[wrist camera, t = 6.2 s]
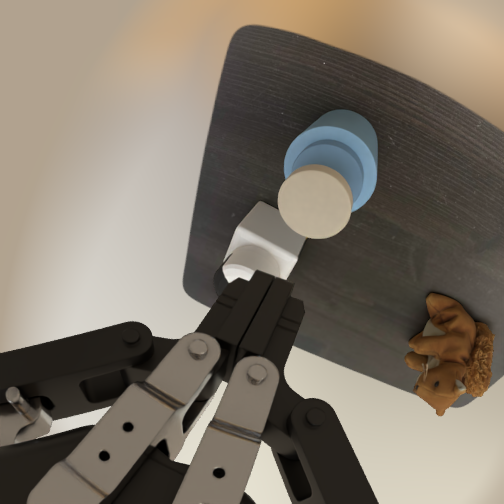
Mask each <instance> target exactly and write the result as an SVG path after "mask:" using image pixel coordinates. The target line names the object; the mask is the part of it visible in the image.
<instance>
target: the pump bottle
mask: <svg viewBox="0 0 504 504" xmlns="http://www.w3.org/2000/svg"><path fill="white" fill-rule="evenodd" d="M377 158H378V142H377V136H376V133H375V131H374V129H373V127H372V125H371V124H370V123H369V122H368V121H367V120H366V119H365V118H364V117H363V116H361V115H360V114H358V113H356V112H353V111H350V110H344V109H340V110H333V111H330V112H328V113H326V114H324V115H322V116H321V117H320V118H319V119H318V120H316V121H315V122H314V123H313V124H312V125H311V126H309V127H308V128H307V129H306V130H305V131H304V132H303V133H301V134H300V135H299V136H298V137H297V138H296V139H295V140H294V141H293V142H292V143H291V145H290V147H289V148H288V151H287V153H286V156H285V161H284V174H285V179H287V178H288V177H289V175H290V174H291V173H292V172H294V171H295V170H296V169H298V168H300V167H302V166H305V165H311V164H318V165H324V166H327V167H330V168H332V169H334V170H336V171H337V172H338V173H340V174H341V175H342V176H343V177H344V178H345V180H346V181H347V183H348V184H349V186H350V188H351V191H352V196H353V206H352V211H351V212H353V211H355V210H357V209H358V208H360V207H361V206H363V205H364V204H365V203H366V202H367V201H368V199H369V198H370V197H371V195H372V193H373V191H374V189H375V185H376V181H377Z"/></svg>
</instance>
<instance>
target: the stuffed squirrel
mask: <svg viewBox="0 0 504 504" xmlns="http://www.w3.org/2000/svg"><path fill="white" fill-rule="evenodd" d="M426 304H427V308H428V312H429V314H430V317H431V318H430V319H429V320H428V322H427V324H426V326H425V328H424V331H422V332H421V333H419V334H418V335H416V336H415V337H413V338H412V339H410V340H409V346H410V348H413V349H414V351H415V352H413V351H411V352H409V353H407V355H406V356H405V362H406V364H407V365H408V366H409V367H410V368H412V369H415V370H417V371H420V372H422V373H421V374H420V375H419V376H418V378H417V381H416V384H415V386H414V390H413V391H414V393H416V394H417V395H418V396H419V397H420V398H422V399H423V400H424V401H426V402H427V403H428V404H429V405H430V406H432V407H433V408H434V409H436V414H437V415H438V416H442V415H443V414H444V413H445V410H446V409H447V408H449V407H450V406H451V405H452V404H453V403H454V402H455V401H456V400H457V399H458V397H459V396H460V394H463V393H465V392H466V393H467V394H468V393H470V394H472V396H473V397H477V396H478V397H481V396H482V395H483V393H484V392H485V391H487V389H488V385H490V383H489V382H490V378H491V377H492V372H491V368H490V367H491V363H492V357H493V355H492V354H493V353H492V351H493V352H494V350H493V345H492V344H493V340H494V337H495V335H494V334H492V332H491V331H490V330H489V328H488V327H487V325H486V324H484V323H482V322H474V321H473V319H472V318H471V317H470V315H469V314H468V313H467V312H466V311H465V310H464V309H463V307H462V305H461V304H460V303H459V302H457V301H455V300H453V299H451V298H449V297H446V296H443V295H440V294H435V293H430V294H429V295H428V297H427V298H426Z"/></svg>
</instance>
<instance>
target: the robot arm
mask: <svg viewBox="0 0 504 504" xmlns="http://www.w3.org/2000/svg"><path fill="white" fill-rule="evenodd" d="M294 284H295V283H293V282H290V281H288V280H285V279H282V278H279V277H276V278H275V276H274V275H271V274H268V273H266V272H263V271H260V270H256V271H255V272H254V274H253V275H252V277H251V279H250V280H249V281H248V280H245V279H242V278H240V277H238V278H237V279H235V280H233V281H232V282H230V283H228V284H227V286H226V287H225V289H224V290H223V292H222V293H221V295H220V296H219V297H218V299H217V300H216V303H214V305H213V306H212V308H211V309H210V311H209V312H208V313H207V315H206V316H205V318H204V319H203V321H202V322H201V324H200V325H199V327H198V328H197V329H196V331H195V332H194V333H189V334H187V335H185V336H183V337H182V338H181V339H167V338H161V337H155V336H152V333H151V331H150V329H149V328H148V327H147V326H146V325H144V324H142V323H140V322H134V321H132V322H131V321H130V322H125V323H121V324H117V325H113V326H109V327H106V328H102V329H98V330H94V331H90V332H86V333H83V334H79V335H74V336H71V337H66V338H63V339H58V340H54V341H50V342H46V343H42V344H38V345H34V346H30V347H25V348H21V349H17V350H13V351H8V352H4V353H0V504H256V503H255V502H254V501H253V500H252V498H251V497H250V496H249V495H247V494H246V493H245V492H244V490H245V487H246V485H247V482H248V479H249V476H250V474H251V471H252V468H253V465H254V462H255V459H256V456H257V453H258V451H259V447H260V444H261V440H262V441H264V442H265V443H266V444H267V445H269V446H270V447H271V449H272V453H273V456H274V458H275V461H276V464H277V466H278V469H279V471H280V474H281V476H282V479H283V482H284V484H285V487H286V489H287V492H288V495H289V497H290V500H291V502H292V504H379V503H378V501H377V499H376V497H375V495H374V493H373V491H372V488H371V486H370V484H369V482H368V480H367V478H366V476H365V474H364V471H363V469H362V467H361V465H360V463H359V461H358V459H357V457H356V455H355V453H354V450H353V448H352V446H351V444H350V442H349V440H348V438H347V436H346V434H345V432H344V430H343V427H342V425H341V423H340V421H339V419H338V417H337V415H336V413H335V411H334V409H333V408H332V407H331V406H330V405H329V404H328V403H327V402H325V401H323V400H320V399H316V398H309V399H304V398H303V397H301V396H300V395H299V394H297V393H296V392H295V391H293V390H292V389H291V388H290V387H289V385H288V384H287V382H286V380H285V377H284V367H285V364H286V361H287V359H288V356H289V353H290V351H291V348H292V346H293V343H294V340H295V338H296V335H297V332H298V330H299V327H300V324H301V322H302V319H303V316H304V313H305V311H304V305H303V301H302V300H299V299H296V298H293V297H291V293H292V290H293V287H294ZM222 381H225V382H227V383H228V385H227V387H226V389H225V392H224V394H223V397H222V399H221V401H220V404H219V406H218V408H217V411H216V413H215V415H214V417H213V419H212V421H210V423H209V424H208V426H207V428H206V430H205V433H204V435H203V437H202V440H201V442H200V444H199V446H198V448H197V451H196V453H195V455H194V457H193V460H192V462H191V464H190V465H187V464H183V463H179V462H175V461H174V459H175V458H176V457H177V455H178V454H179V452H180V450H181V449H182V447H183V444H184V442H185V439H186V438H187V436H188V434H189V432H190V431H191V430H192V428H193V427H194V426H195V424H196V422H197V421H198V420H199V418H200V417H201V415H202V414H203V412H204V411H205V409H206V408H207V407H208V405H209V404H210V402H211V400H212V399H213V397H214V395H215V393H216V391H217V389H218V387H219V385H220V384H221V382H222ZM109 406H111V408H110V409H109V410H108V411H107V412H106V413H105V415H104V416H103V417H102V418H101V419H100V420H99V422H98V423H97V424H96V425H88V426H83V427H79V428H76V429H72V430H69V431H65V432H61V433H57V434H54V435H50V436H46V437H42V438H38V439H36V438H37V437H40V436H43V435H45V434H48V433H49V431H50V428H51V425H52V421H54V420H58V419H62V418H67V417H71V416H74V415H79V414H83V413H87V412H91V411H94V410H98V409H102V408H106V407H109Z"/></svg>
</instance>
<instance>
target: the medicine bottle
mask: <svg viewBox="0 0 504 504" xmlns="http://www.w3.org/2000/svg"><path fill="white" fill-rule="evenodd" d="M307 238H308V237H305V236H302V235H300V234H298V233H296V232H295V231H294V230H292V229H291V228H290V227H289V226H288V225H287V224H286V223H285V221H284V220H283V218H282V216H281V214H280V211H279V210H278V209H276V208H274V207H272V206H270V205H268V204H266V203H264V202H262V201H259V202H258V203H257V204H256V205H255V206H254V208H253V209H252V210H251V211H250V212H249V213H248V215H247V216H246V217H245V218H244V219H243V220H242V222H241V223H240V224H239V225H238V226H237V228H236V230H235V233H234V235H233V238H232V241H231V243H230V246H229V248H228V251H227V254H226V256H225V259H224V261H223V264H222V265H221V266H220V268H219V269H218V270H217V271H216V273H215V275H214V280H213V282H214V288H215V291H216V293H217V295H218V296H220V295H221V293H222V292H223V290H224V289H225V287H226V286H227V284H228V283H230V282H232V281H233V280H235V279H237V278H238V277H240V278H242V279H245V280H248V281H249V280H250V279H251V277H252V275H253V274H254V272H255V271H256V270H260V271H263V272H266V273H268V274H271V275H274V276H275V278H276V277H279V278H282V279H285V280H286V279H287V277H288V276H289V274H290V272H291V271H292V269H293V267H294V265H295V264H296V262H297V260H298V258H299V256H300V254H301V252H302V249H303V247H304V245H305V243H306V241H307Z"/></svg>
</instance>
